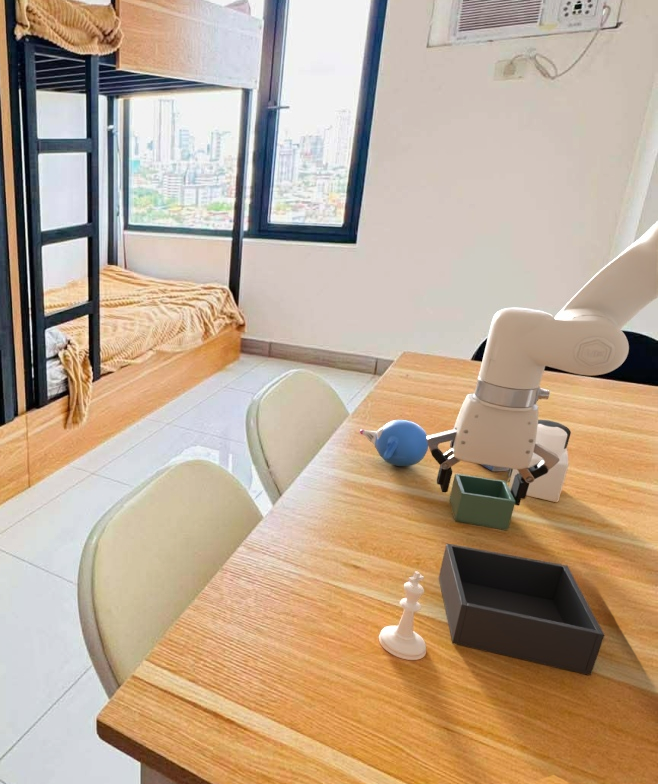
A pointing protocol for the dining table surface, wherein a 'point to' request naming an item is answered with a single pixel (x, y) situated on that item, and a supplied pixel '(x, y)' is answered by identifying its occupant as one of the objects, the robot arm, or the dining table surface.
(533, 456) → the medicine bottle
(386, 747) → the dining table surface
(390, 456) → the blue mole toy
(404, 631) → the chess piece
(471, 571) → the large bin
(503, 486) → the small bin
